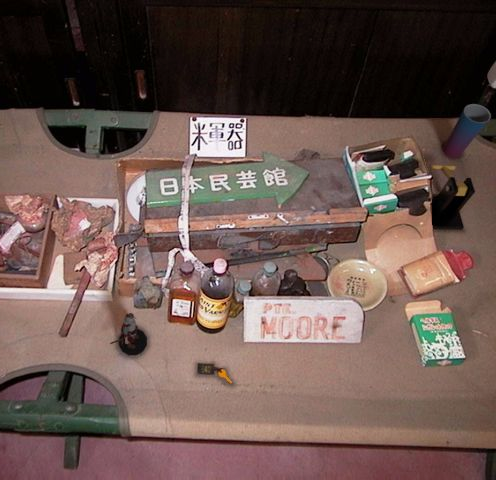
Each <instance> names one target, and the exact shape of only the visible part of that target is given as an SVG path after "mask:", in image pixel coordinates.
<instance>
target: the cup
mask: <svg viewBox="0 0 496 480" xmlns="http://www.w3.org/2000/svg"><path fill="white" fill-rule="evenodd" d="M491 118H492V114H491V112H490V111H489V109H488V108H486V107H485V106H483V105H481V104H479V103H471V104H467V105H466V106H465V107H464V108H463V110H462V112H461V114H460V115H459V118H458V119H457V122H456V123H455V125H454V127H453V128H452V130H451V133H450V134H449V136H448V138H447V140H446V141H445V143H444V145H443V147H442V152H443V153H444V155H446V156H448V157H449V158H452V159H455V158H459V157H460V156H461V155H462V154H463V153H464V152H465V150H466V149H467V148H468V147H469V145H470V144H471V143H472V142H473V140H474V139H475V138H476V137H477V136H478V135H479V134H480V132H481V130H483V128H485V126H486V125H487V123H488V122H489V121H490V120H491Z"/></svg>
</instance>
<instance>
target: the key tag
mask: <svg viewBox="0 0 496 480" xmlns="http://www.w3.org/2000/svg"><path fill="white" fill-rule="evenodd" d="M215 371H216V372H218V373H217V376H218V377H220V378H223V379H225V380H226V381H227V382H228V383H229V384H232V383H233V382H232V380H231V379H230V378H229V377H228V374H227V372H226V370H225V369H222V368H221V369H220V368H215V364H204V363H203V364H202V363H201V364H198V366H197V374H198V375H215Z"/></svg>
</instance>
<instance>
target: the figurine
mask: <svg viewBox="0 0 496 480" xmlns="http://www.w3.org/2000/svg"><path fill="white" fill-rule="evenodd" d="M136 320H138V318H137V317H135V315H134V313H133V312H129V313H125V316H124V319H123V322H122V324H121V328H120V332H121V334H120V336H119V337H118V339H117V340H114V341H111V342H110V343H109V345H113V344H115V343H118V347H119V348H120V350H121V352H122V353H124V354H126V355H127V356H138V355H140V354H142V353H143V352H144V351H145V349H146V348H147V346H148V337H147V335H146V333H145V332H144V331H143V330H141V329H140V328H139V326H138V325H137V322H136Z"/></svg>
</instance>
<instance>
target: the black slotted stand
mask: <svg viewBox="0 0 496 480" xmlns="http://www.w3.org/2000/svg"><path fill="white" fill-rule="evenodd" d="M454 177H455V176H454ZM454 177H450V179H449V180H448V179H447V181H446V183H445V184H444V185H443V187H442V188H441V189H440V191H439V192H438V194H437V195H432V196H433V199H432V204H431V205H432V225H433V229H432V230H449V231H450V230H452V231H453V230H454V231H463V230H464V228H465V226H464V223H463V220H462V216H461V212H460V211H461V210H462V209H463V207H464V206H465V205H466V204H467V203H468V202H469V200H470V199H471V198H472V197H473V195H474V194H475V193H476V191H475V187H474V184H473V181H472V178H471V177H466V178H465V180H464V181H463V182H464V184H465V185H466V186H467V187H468V188H467V191H466V193H465V196H455V195H456V194H457V193H458V188H457V184H456V181H455V179H456V177H455V178H454Z"/></svg>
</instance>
